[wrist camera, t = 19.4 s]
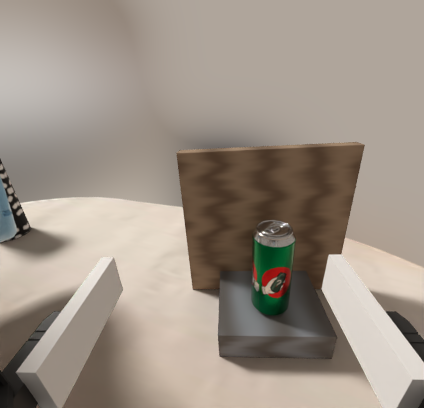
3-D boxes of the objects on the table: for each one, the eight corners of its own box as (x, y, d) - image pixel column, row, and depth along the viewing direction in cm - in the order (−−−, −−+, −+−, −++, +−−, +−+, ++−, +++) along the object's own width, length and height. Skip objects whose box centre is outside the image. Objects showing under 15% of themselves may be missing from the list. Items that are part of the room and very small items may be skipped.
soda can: (295, 303, 32) (305, 227, 27) (274, 326, 29) (280, 245, 24) (265, 284, 35) (269, 214, 30) (243, 302, 32) (243, 228, 27)
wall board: (181, 355, 30) (150, 181, 20) (194, 281, 42) (179, 150, 32) (373, 359, 28) (443, 170, 18) (328, 280, 40) (356, 142, 31)
